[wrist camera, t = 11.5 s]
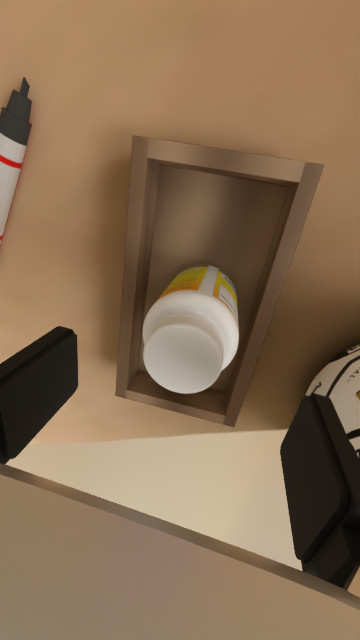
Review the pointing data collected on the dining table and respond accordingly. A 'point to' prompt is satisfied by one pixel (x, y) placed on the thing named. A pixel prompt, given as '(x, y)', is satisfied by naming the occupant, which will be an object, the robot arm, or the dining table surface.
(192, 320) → the supplement bottle
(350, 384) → the milk container
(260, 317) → the brown wooden tray
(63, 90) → the dining table surface
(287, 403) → the dining table surface
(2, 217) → the marker
